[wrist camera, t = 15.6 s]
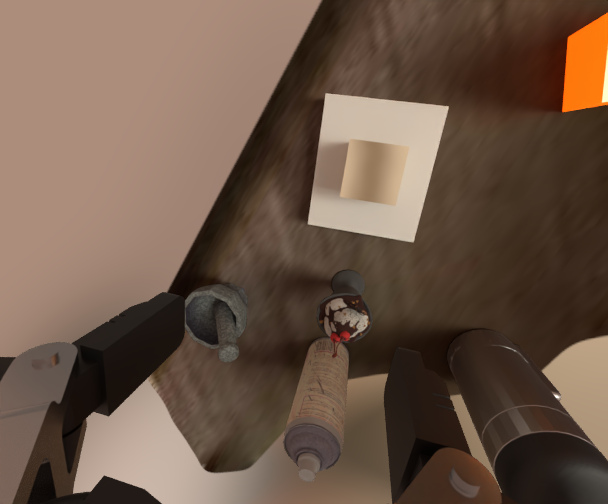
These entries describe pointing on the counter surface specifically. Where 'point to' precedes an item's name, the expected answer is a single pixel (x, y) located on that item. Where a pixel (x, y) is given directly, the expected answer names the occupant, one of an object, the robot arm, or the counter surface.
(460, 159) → the counter surface
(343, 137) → the cream board
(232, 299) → the mortar and pestle
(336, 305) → the sundae
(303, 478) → the aerosol can
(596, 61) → the orange juice
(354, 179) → the birch block
